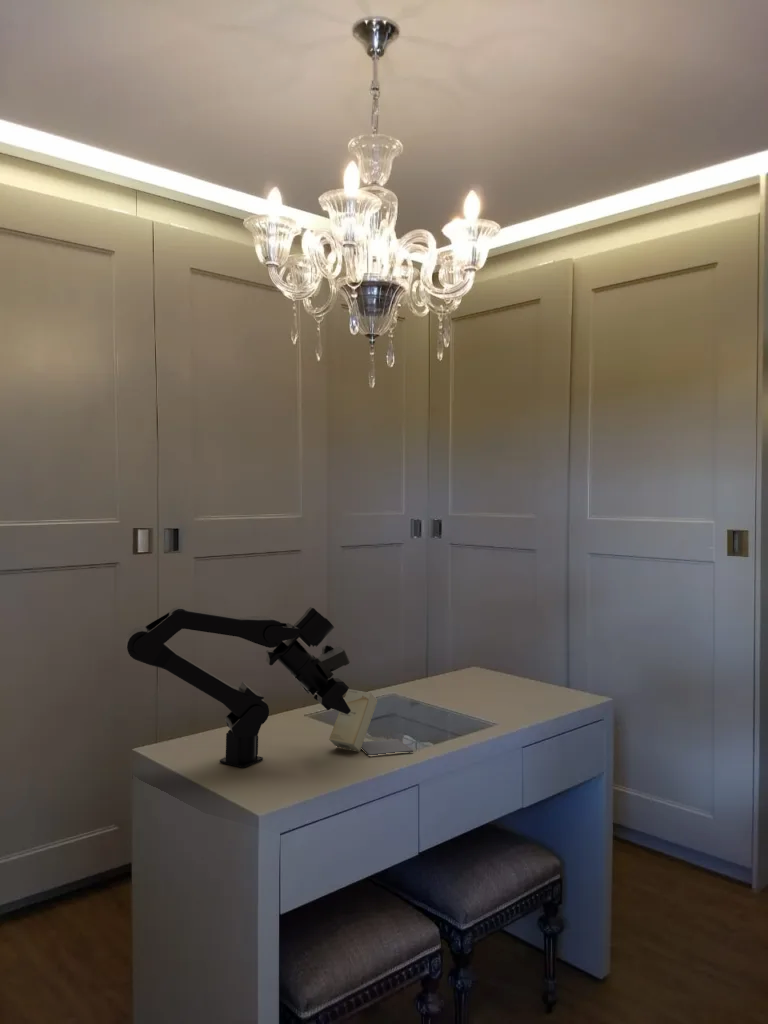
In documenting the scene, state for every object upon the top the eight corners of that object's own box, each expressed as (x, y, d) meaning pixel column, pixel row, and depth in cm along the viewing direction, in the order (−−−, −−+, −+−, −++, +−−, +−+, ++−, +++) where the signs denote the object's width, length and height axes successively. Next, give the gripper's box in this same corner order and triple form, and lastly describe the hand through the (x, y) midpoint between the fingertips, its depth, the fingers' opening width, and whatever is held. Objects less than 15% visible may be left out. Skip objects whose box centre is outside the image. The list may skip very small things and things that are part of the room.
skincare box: (328, 739, 166) (346, 688, 173) (336, 748, 169) (354, 697, 176) (353, 744, 163) (370, 691, 170) (361, 752, 166) (378, 700, 173)
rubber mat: (369, 757, 163) (369, 754, 163) (355, 744, 171) (355, 742, 171) (412, 753, 167) (413, 750, 167) (397, 741, 175) (397, 738, 175)
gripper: (339, 642, 156) (389, 693, 159) (315, 629, 173) (360, 675, 177) (301, 683, 153) (352, 735, 157) (279, 665, 170) (326, 712, 174)
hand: (348, 712), depth 166 cm, fingers closed
